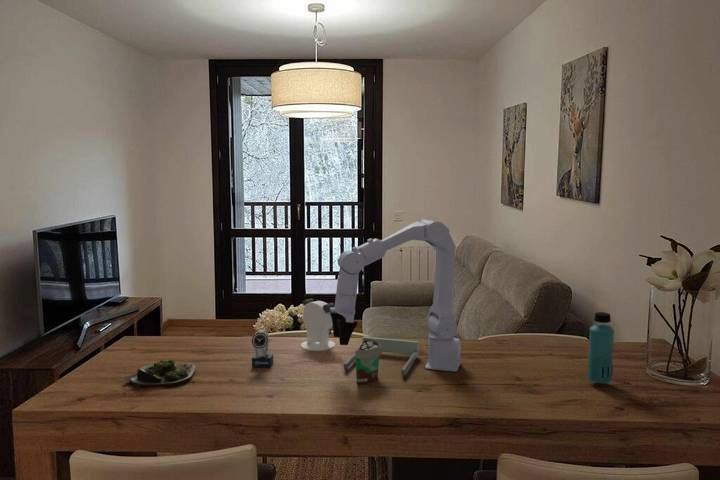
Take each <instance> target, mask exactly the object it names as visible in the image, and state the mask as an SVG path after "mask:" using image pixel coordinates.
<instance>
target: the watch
mask: <svg viewBox="0 0 720 480" xmlns="http://www.w3.org/2000/svg"><path fill="white" fill-rule="evenodd" d="M268 332H269V331H268V329H258V330H257V331H256V332H255V334H254V335H253V336H252V338H251V344H252V347H253V351H254V354H253V355H252V357H251V368H252V369H271V368H272V367H273V364H274V353H268V351H269V343H271V340H270V339H269V333H268Z"/></svg>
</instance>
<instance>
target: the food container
mask: <svg viewBox="0 0 720 480" xmlns="http://www.w3.org/2000/svg"><path fill="white" fill-rule="evenodd" d="M358 349H359V350H358ZM358 349H357V350H355V352H356V354H355V358H356V360H355V370H356V371H355V374H356V385H369V384H370V385H371V384H373V383H375V382H377V381H378V379H379V378H378V377H379V376H378V375H379V365H380V364H379V362H380V355H381V353H383V352H382V350H381V345H380V343H379V342H378V341H376V340H373V339H367V338H364V342H363V344H360V346H359V347H358Z"/></svg>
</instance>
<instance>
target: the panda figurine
mask: <svg viewBox="0 0 720 480" xmlns="http://www.w3.org/2000/svg"><path fill="white" fill-rule="evenodd" d="M302 305H303V306H304V307H303V310H302V311H303V312H302V318H303V322H304V324H305V326H306V341H303V342H301V344H300V347H301V349H303V350H305V351H311V352H323V351H329V350H331V348H332V349H333V347H334V348H335V346H336V343H335V342H334V341H333V340H329V337H330V335H332V329H333V323H332V318H331V315H330V312H331V310H330V308H331V307H332V308H334V306H335V303H334V302H330V303H327V302H325V301H322V300H316V301H315V300H314V298H308V299H304V300H303V301H302ZM328 349H329V350H328Z"/></svg>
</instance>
